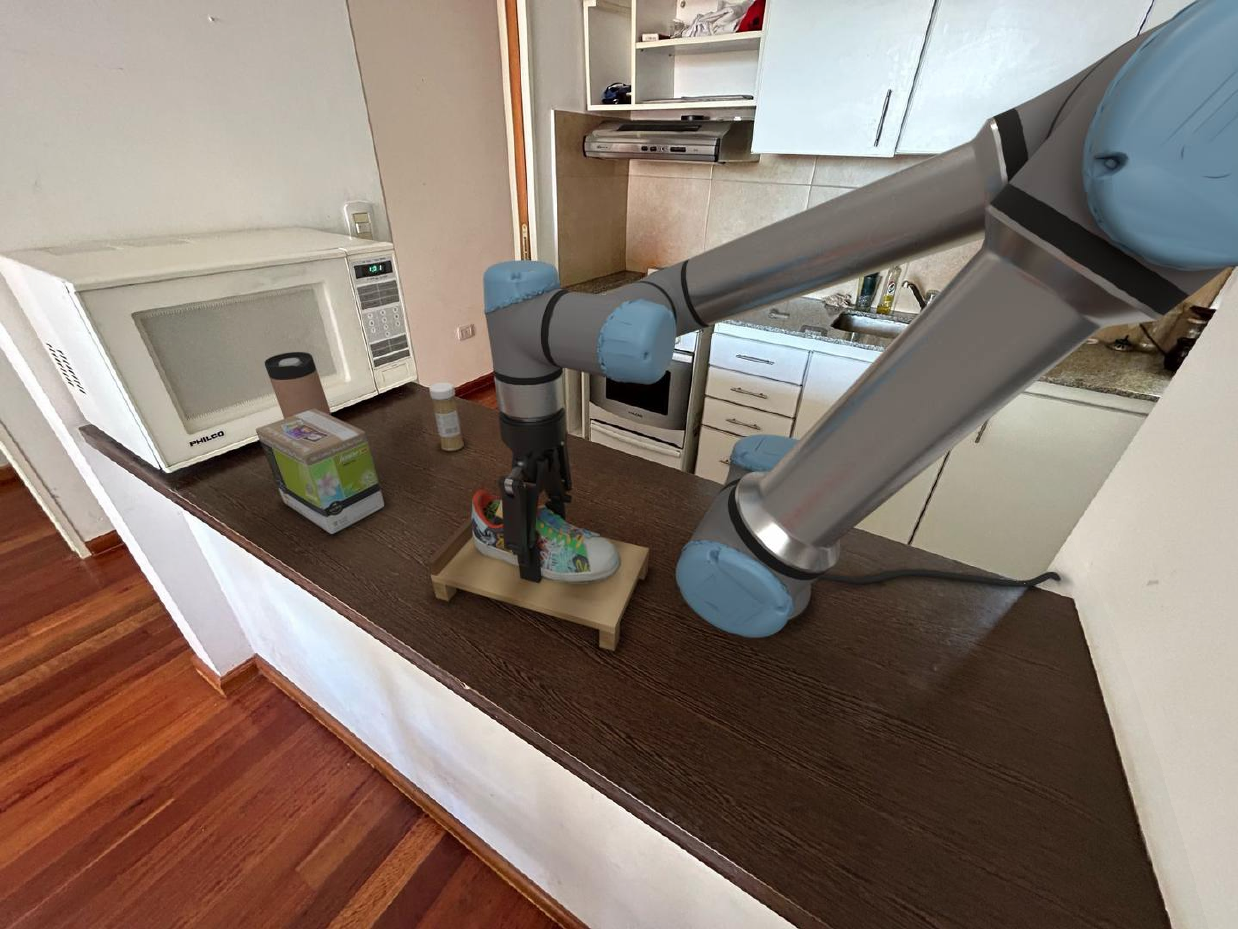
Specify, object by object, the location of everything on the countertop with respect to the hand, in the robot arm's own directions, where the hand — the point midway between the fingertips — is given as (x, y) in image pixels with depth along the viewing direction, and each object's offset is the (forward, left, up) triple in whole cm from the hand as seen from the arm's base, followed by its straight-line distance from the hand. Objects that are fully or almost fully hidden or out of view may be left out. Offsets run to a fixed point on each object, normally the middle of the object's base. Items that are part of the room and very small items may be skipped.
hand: (544, 558), depth 70 cm
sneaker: (0, 0, 0) cm, 1 cm away
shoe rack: (0, 0, -5) cm, 5 cm away
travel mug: (+57, -17, -5) cm, 60 cm away
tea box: (+42, -5, -5) cm, 43 cm away
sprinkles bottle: (+35, -29, -5) cm, 46 cm away
